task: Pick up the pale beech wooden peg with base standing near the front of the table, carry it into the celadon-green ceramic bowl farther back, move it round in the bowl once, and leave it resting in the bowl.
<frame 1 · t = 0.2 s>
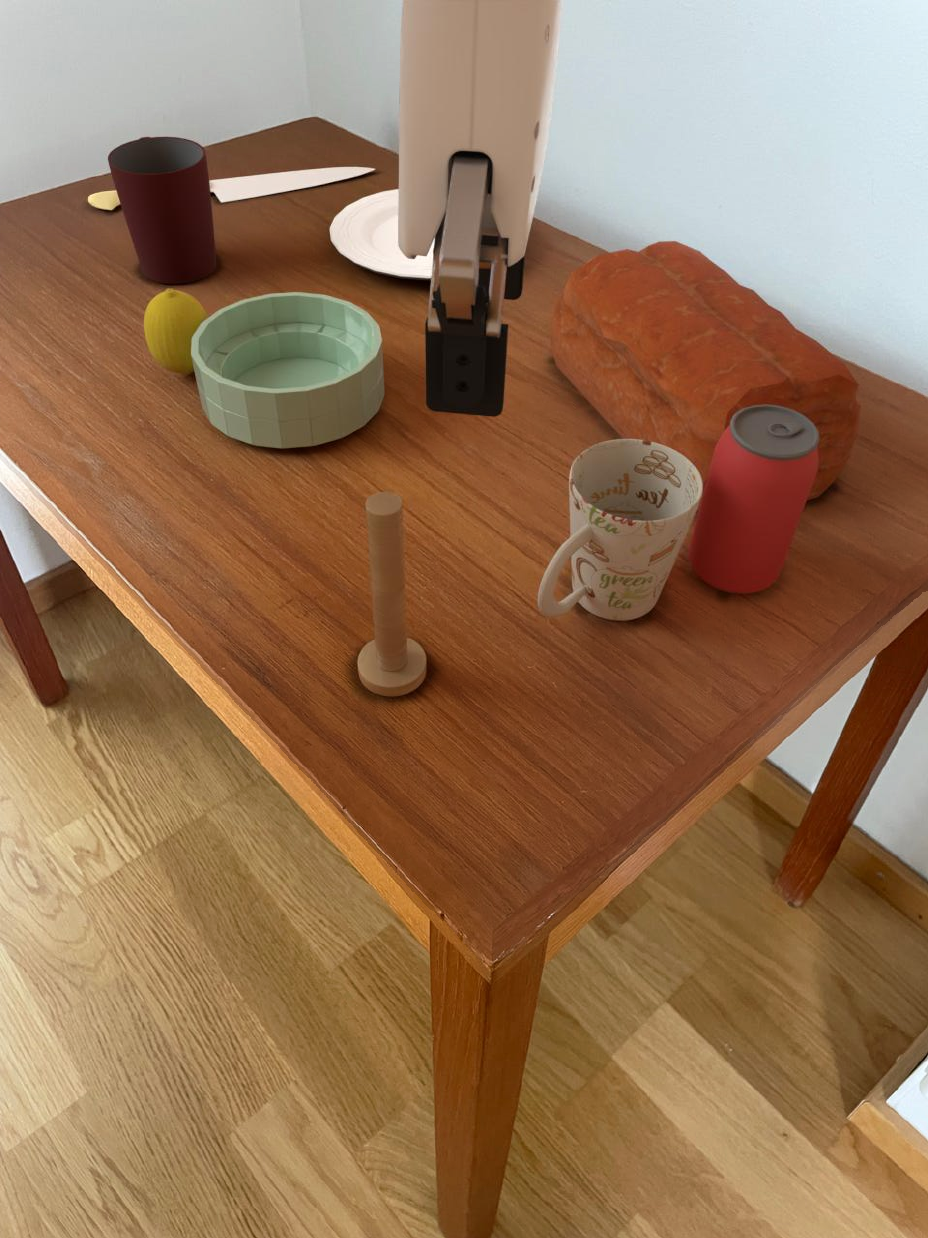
hand: (477, 348, 44), 24 cm above the table, tool pointing down, fingers open, 9 cm apart
wooden peg with base: (392, 670, 62), on the table
plate: (428, 246, 103), on the table
lemon: (188, 376, 85), on the table
mug 2: (176, 261, 99), on the table
knife: (239, 193, 111), on the table
bread: (683, 418, 82), on the table
bowl: (294, 401, 82), on the table
mug: (596, 608, 67), on the table
beer can: (731, 568, 70), on the table
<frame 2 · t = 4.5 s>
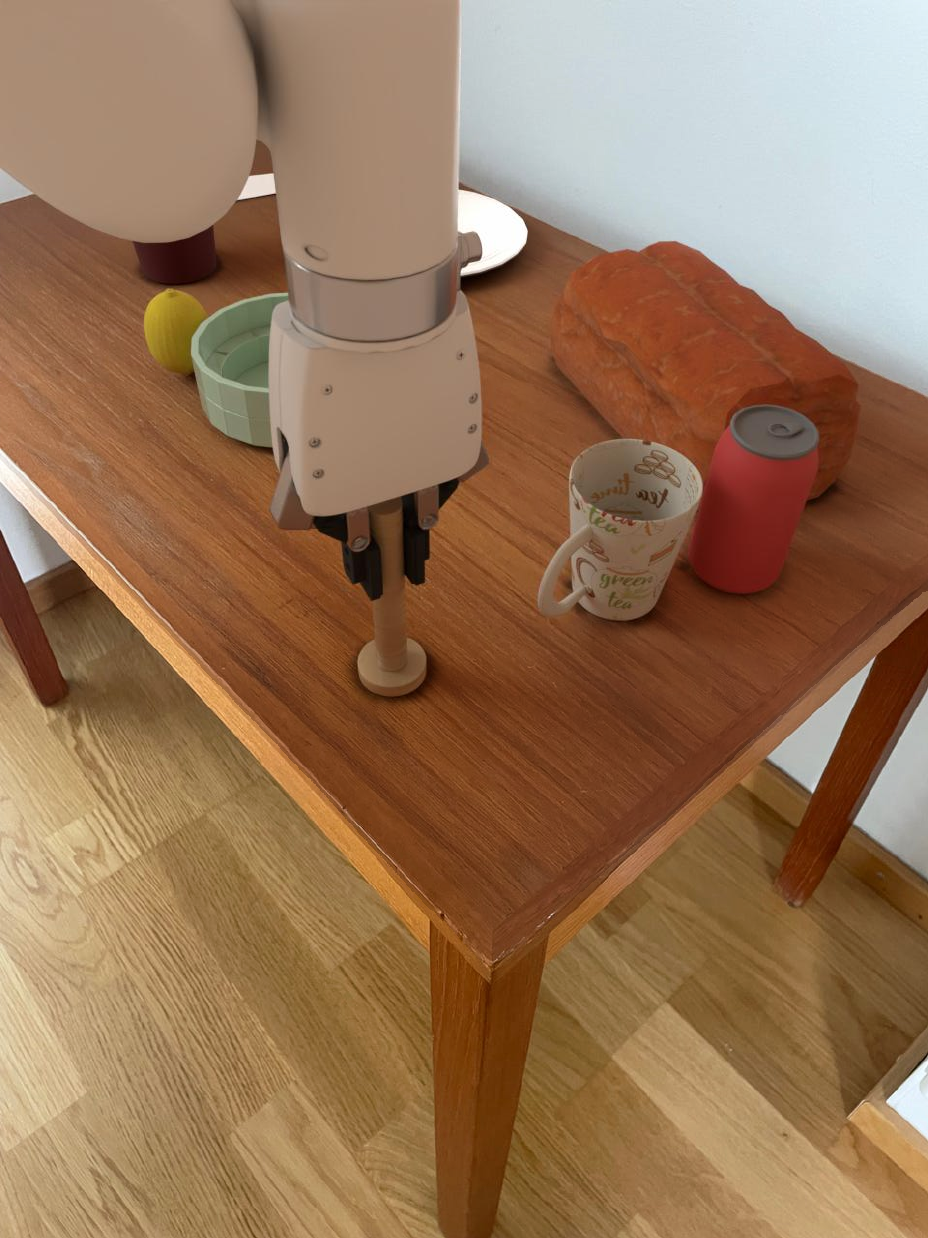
hand: (387, 575, 56), 9 cm above the table, tool pointing down, fingers closed on wooden peg with base, 2 cm apart
wooden peg with base: (392, 670, 62), on the table, touching gripper
everything else where it was.
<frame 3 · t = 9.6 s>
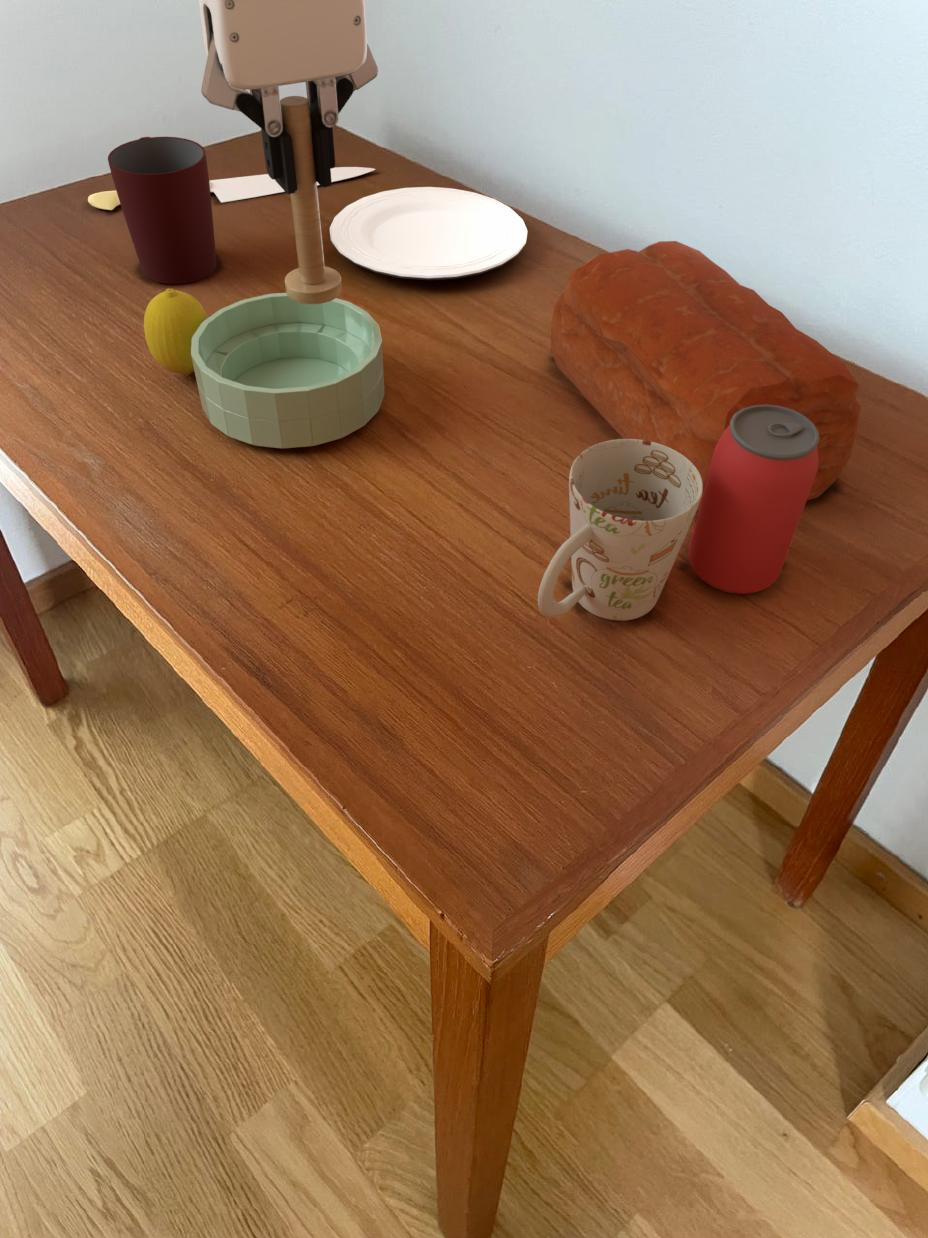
hand: (302, 181, 70), 18 cm above the table, tool pointing down, fingers closed on wooden peg with base
wooden peg with base: (314, 290, 76), point 10 cm above the table, touching gripper
everything else where it was.
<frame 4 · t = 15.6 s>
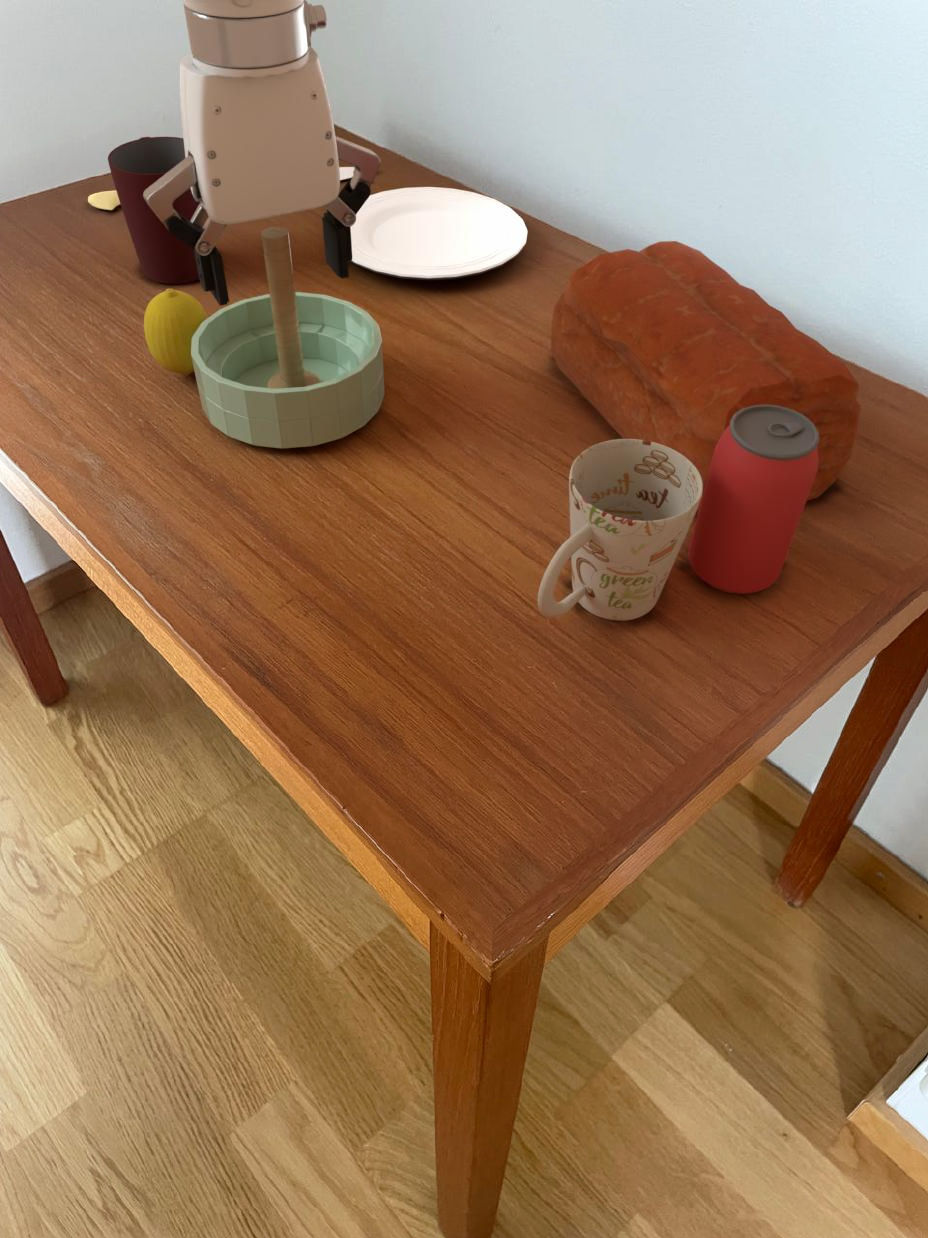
hand: (279, 283, 75), 11 cm above the table, tool pointing down, fingers open, 9 cm apart
wooden peg with base: (295, 393, 82), point 1 cm above the table, touching bowl
everything else where it was.
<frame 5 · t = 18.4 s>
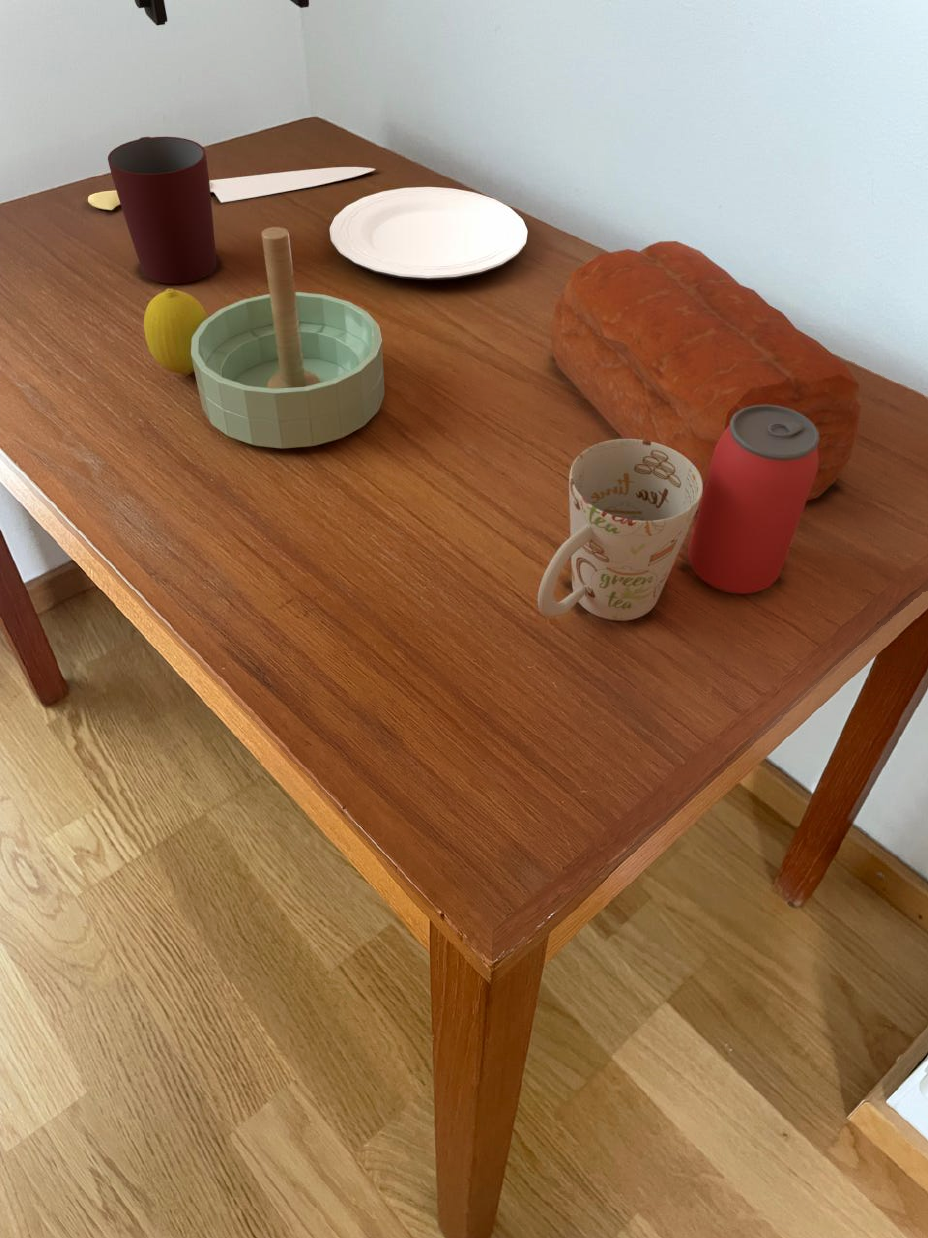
hand: (228, 10, 64), 28 cm above the table, tool pointing down, fingers open, 9 cm apart
nothing on the table moved.
at the end: wooden peg with base inside the target area in the bowl (0.1 cm from its centre), point 0.8 cm above the bowl's base; wooden peg with base moved 31.4 cm from its start; the gripper is holding nothing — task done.
